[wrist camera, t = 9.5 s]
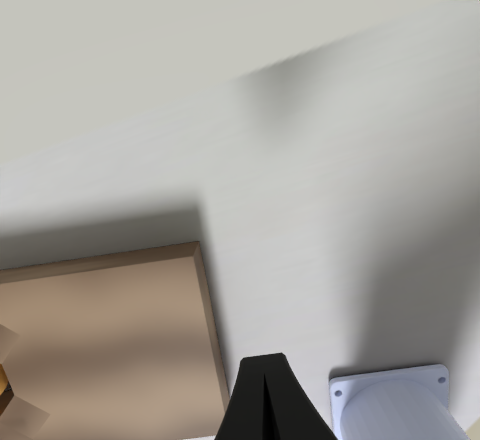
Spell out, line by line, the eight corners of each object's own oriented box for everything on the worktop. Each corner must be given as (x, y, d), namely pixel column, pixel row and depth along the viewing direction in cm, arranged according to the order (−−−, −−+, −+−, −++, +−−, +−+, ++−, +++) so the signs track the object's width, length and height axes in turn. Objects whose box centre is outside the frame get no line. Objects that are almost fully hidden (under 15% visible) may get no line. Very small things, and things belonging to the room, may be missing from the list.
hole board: (229, 400, 21) (228, 433, 19) (-42, 435, 22) (-77, 472, 19) (198, 241, 18) (192, 256, 16) (-115, 286, 19) (-168, 308, 16)
